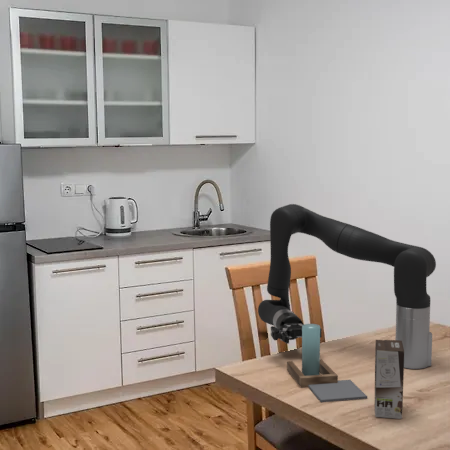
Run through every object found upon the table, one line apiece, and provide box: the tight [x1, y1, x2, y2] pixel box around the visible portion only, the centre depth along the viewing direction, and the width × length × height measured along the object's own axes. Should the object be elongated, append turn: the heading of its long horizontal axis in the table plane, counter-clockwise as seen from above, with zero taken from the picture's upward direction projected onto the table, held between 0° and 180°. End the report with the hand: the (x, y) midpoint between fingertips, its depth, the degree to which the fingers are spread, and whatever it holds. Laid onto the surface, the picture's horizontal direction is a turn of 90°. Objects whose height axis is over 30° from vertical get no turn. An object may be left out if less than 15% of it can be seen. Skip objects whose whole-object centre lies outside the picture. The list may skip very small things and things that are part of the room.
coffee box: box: [374, 339, 405, 420], centre depth 162 cm, size 9×6×16 cm
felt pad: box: [307, 379, 368, 403], centre depth 175 cm, size 12×12×1 cm
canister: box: [301, 323, 321, 376], centre depth 185 cm, size 5×5×14 cm
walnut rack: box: [286, 358, 339, 388], centre depth 185 cm, size 10×14×2 cm
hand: (302, 339), depth 193 cm, fingers open, 8 cm apart
